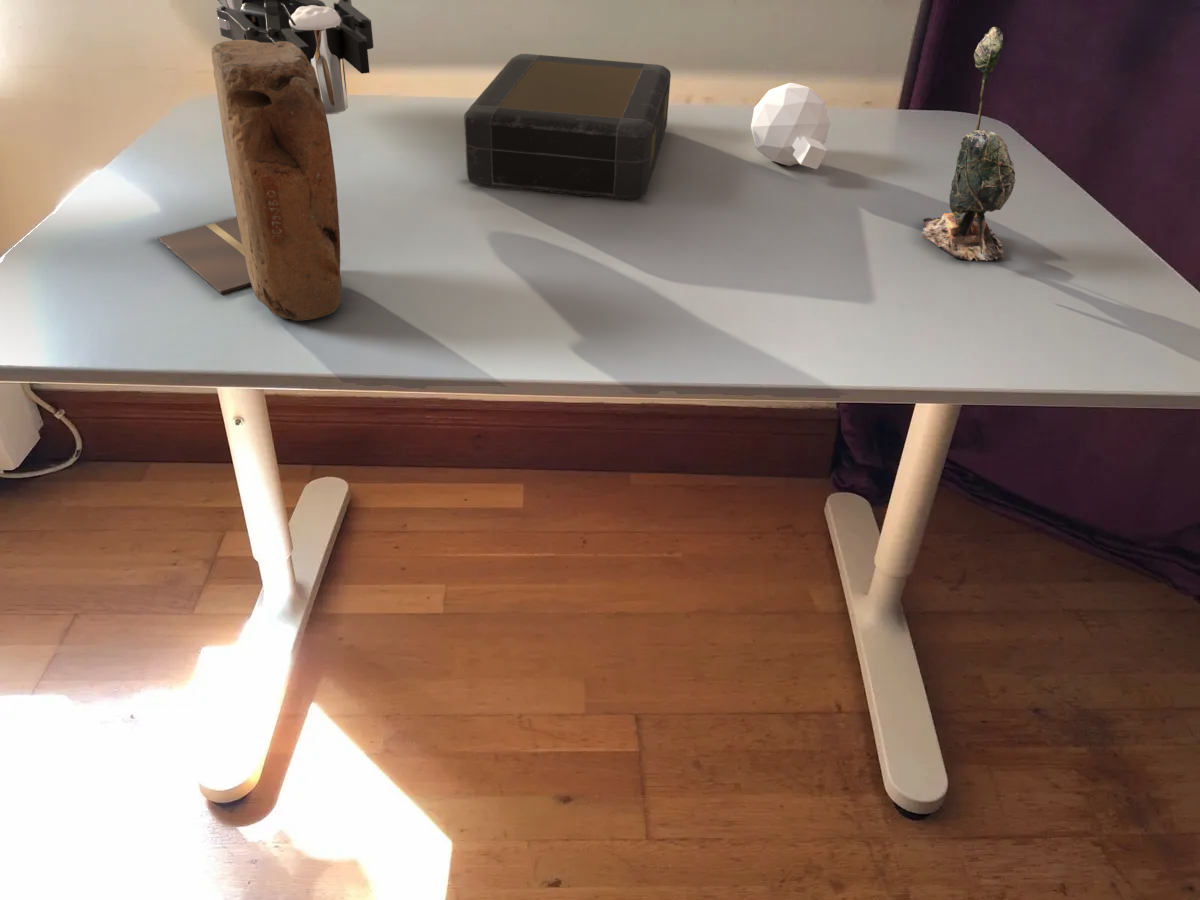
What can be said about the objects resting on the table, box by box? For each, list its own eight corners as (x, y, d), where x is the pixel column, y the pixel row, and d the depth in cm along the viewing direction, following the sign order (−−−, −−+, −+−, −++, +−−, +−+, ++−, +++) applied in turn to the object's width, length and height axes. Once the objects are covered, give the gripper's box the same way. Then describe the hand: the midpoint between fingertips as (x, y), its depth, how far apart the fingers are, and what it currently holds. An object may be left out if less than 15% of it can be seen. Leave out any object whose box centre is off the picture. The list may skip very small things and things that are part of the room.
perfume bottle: (727, 133, 114) (762, 183, 106) (763, 59, 108) (803, 106, 100) (787, 151, 117) (825, 200, 109) (824, 80, 112) (868, 127, 104)
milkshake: (289, 112, 91) (266, -1, 85) (335, 98, 94) (316, -12, 88) (319, 123, 89) (297, 8, 82) (364, 108, 92) (347, -4, 86)
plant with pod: (917, 264, 92) (974, 45, 79) (920, 219, 100) (972, 15, 88) (1005, 278, 90) (1078, 56, 78) (1000, 231, 99) (1065, 25, 87)
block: (245, 272, 84) (200, 33, 71) (331, 260, 87) (302, 28, 74) (264, 334, 76) (218, 80, 64) (358, 319, 79) (331, 72, 67)
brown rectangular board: (158, 240, 89) (157, 236, 89) (258, 214, 95) (257, 210, 95) (221, 294, 81) (220, 290, 81) (326, 262, 87) (326, 258, 87)
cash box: (510, 113, 122) (509, 50, 118) (667, 127, 120) (672, 63, 116) (457, 186, 103) (453, 113, 98) (644, 204, 100) (649, 131, 96)
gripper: (355, 33, 106) (432, 92, 90) (190, 47, 99) (242, 114, 83) (347, -42, 101) (426, 7, 85) (174, -33, 94) (225, 22, 78)
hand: (335, 60), depth 84 cm, fingers closed on milkshake, 4 cm apart
